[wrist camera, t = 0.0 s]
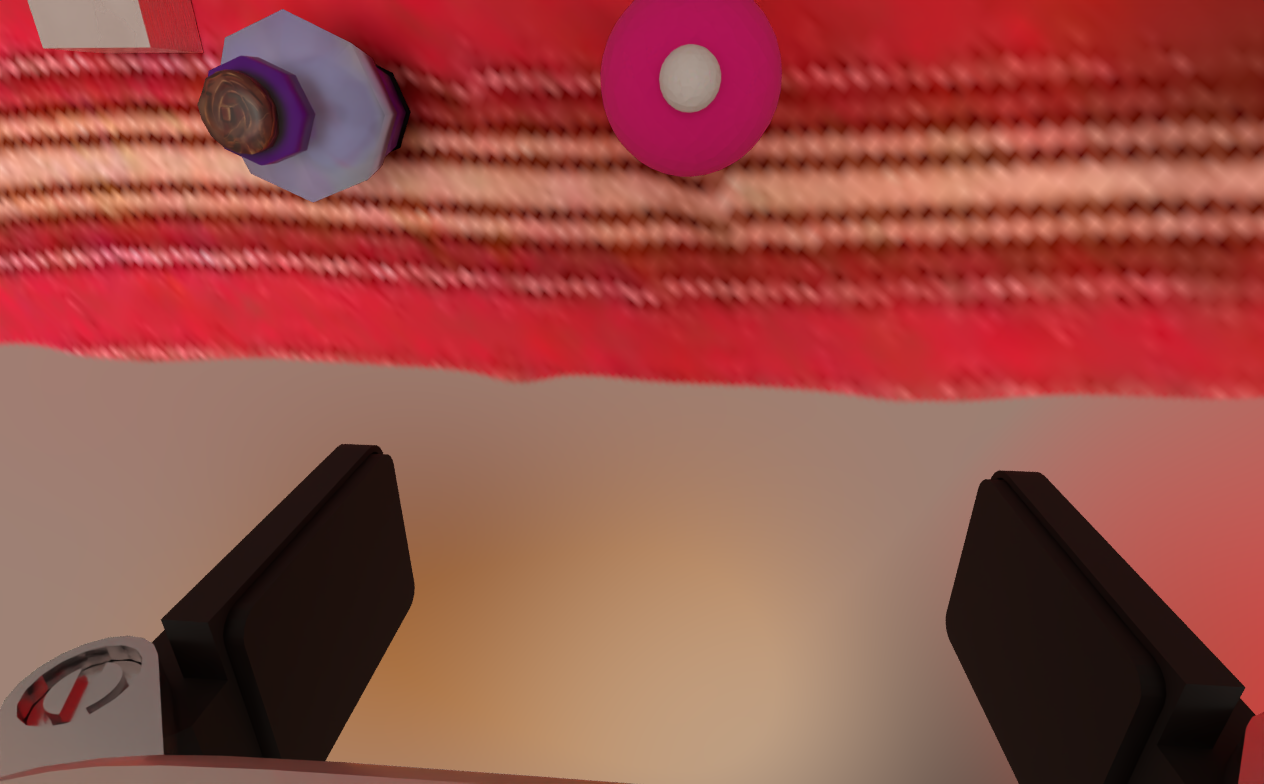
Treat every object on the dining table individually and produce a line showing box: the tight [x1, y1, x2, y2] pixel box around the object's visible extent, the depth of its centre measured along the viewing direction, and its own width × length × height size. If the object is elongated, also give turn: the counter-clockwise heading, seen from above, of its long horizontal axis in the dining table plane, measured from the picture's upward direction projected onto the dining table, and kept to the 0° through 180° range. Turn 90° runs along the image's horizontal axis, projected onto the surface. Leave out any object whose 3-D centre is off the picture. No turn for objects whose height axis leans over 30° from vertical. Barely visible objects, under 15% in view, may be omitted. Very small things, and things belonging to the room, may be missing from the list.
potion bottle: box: [198, 9, 410, 202], centre depth 32 cm, size 9×9×12 cm
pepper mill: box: [600, 0, 782, 177], centre depth 27 cm, size 7×7×20 cm
